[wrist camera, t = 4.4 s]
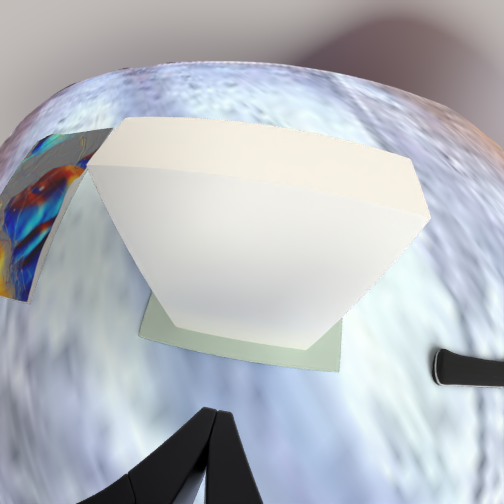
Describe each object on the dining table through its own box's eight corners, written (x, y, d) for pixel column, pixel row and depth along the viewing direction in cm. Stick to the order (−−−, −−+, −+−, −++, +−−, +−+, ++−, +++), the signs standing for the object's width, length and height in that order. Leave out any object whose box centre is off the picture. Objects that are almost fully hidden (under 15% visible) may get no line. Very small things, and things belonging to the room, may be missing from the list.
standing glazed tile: (306, 350, 18) (430, 218, 6) (175, 326, 18) (85, 164, 6) (309, 314, 19) (408, 155, 7) (185, 293, 19) (128, 114, 7)
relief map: (39, 145, 31) (35, 136, 30) (114, 133, 32) (111, 121, 30) (-37, 287, 18) (-46, 279, 16) (34, 307, 18) (22, 298, 17)
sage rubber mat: (337, 372, 17) (339, 371, 17) (139, 336, 18) (138, 335, 17) (337, 174, 28) (337, 172, 27) (208, 153, 28) (208, 151, 28)
